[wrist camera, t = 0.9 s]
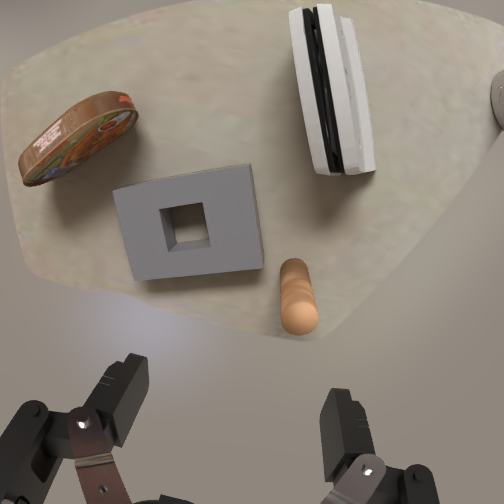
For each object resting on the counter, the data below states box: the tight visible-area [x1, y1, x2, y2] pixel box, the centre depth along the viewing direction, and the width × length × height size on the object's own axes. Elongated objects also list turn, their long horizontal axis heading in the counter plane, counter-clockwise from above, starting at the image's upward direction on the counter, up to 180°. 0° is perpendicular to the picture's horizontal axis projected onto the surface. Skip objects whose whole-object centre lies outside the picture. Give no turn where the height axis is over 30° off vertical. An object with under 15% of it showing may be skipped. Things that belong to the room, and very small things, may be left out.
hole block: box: [112, 163, 264, 281], centre depth 32 cm, size 14×10×3 cm
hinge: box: [289, 4, 376, 175], centre depth 24 cm, size 17×5×10 cm, turn 8°
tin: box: [18, 91, 139, 187], centre depth 27 cm, size 15×3×8 cm, turn 115°
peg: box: [280, 258, 319, 335], centre depth 30 cm, size 3×3×10 cm
